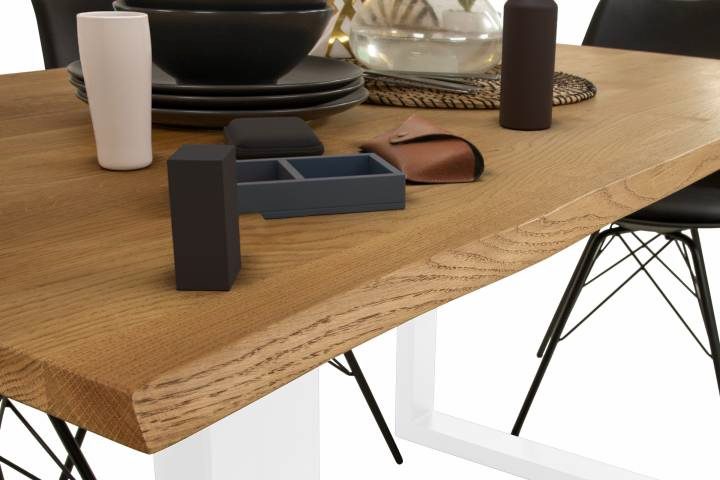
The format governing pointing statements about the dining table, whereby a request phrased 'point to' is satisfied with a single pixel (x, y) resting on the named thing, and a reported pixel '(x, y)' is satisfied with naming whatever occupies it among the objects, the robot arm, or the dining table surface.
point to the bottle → (528, 64)
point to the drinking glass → (118, 85)
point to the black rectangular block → (204, 216)
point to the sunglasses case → (427, 152)
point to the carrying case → (272, 138)
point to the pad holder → (318, 185)
